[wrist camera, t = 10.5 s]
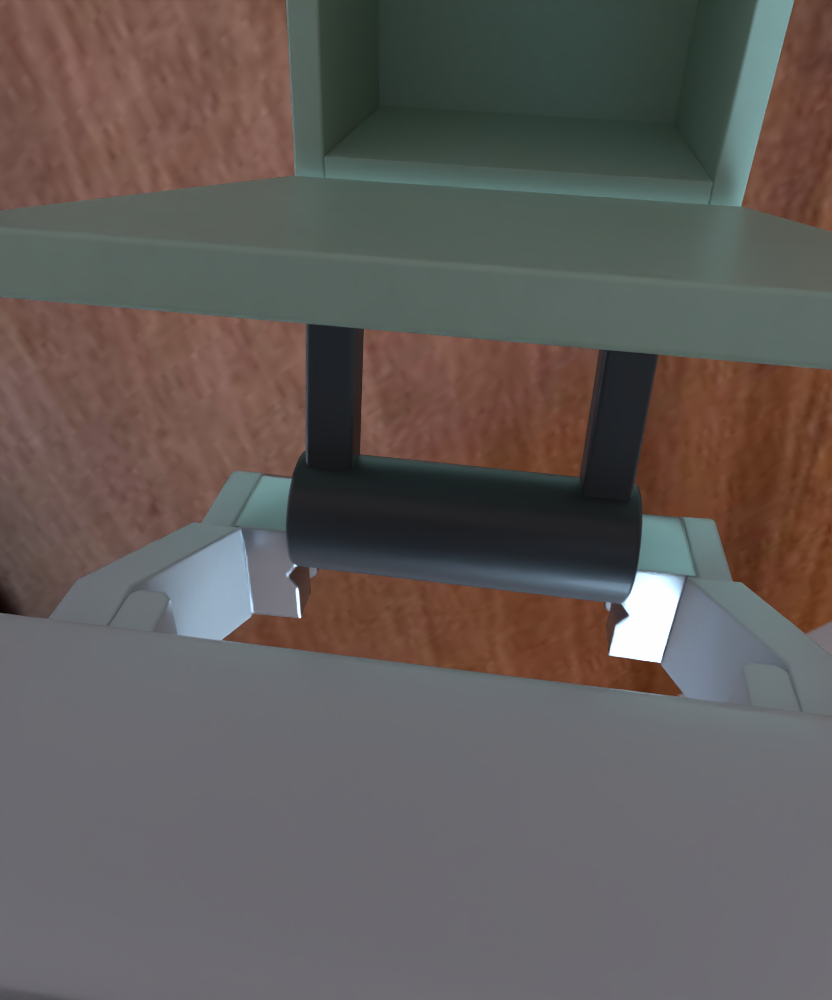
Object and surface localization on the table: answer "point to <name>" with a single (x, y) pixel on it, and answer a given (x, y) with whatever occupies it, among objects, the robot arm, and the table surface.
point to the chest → (536, 93)
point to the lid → (458, 313)
